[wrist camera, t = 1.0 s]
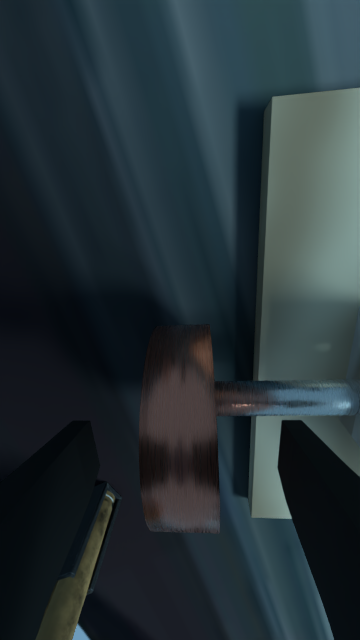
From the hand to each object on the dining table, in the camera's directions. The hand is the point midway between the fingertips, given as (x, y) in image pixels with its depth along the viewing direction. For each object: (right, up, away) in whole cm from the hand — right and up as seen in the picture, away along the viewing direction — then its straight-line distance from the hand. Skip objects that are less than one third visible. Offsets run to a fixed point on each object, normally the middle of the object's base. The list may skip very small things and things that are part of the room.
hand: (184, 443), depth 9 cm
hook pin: (+5, +2, +4) cm, 7 cm away
